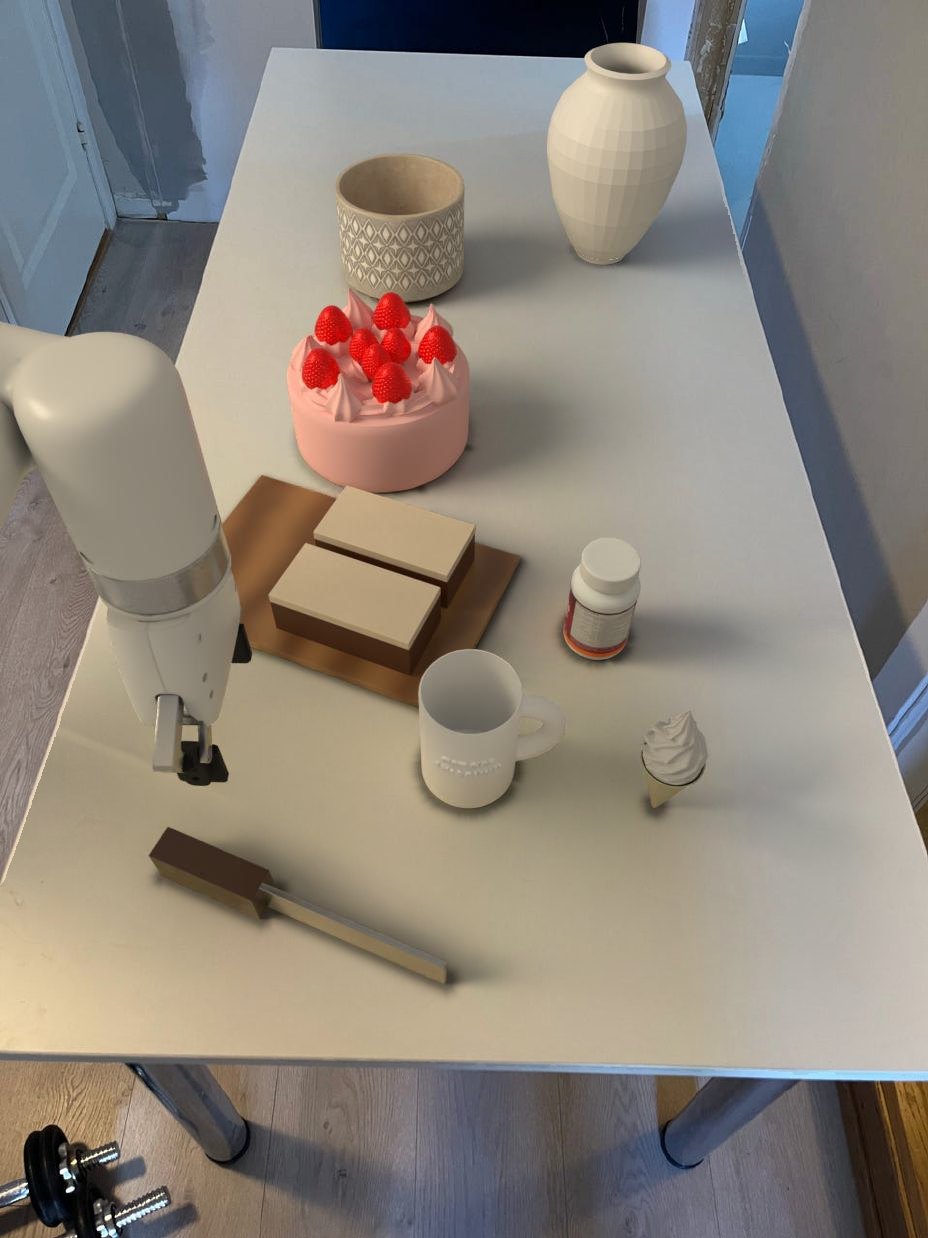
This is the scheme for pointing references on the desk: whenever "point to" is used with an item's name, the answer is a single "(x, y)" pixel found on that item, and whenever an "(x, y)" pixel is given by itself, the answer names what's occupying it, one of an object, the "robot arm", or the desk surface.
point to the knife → (272, 898)
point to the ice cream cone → (673, 757)
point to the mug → (478, 727)
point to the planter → (401, 225)
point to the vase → (615, 149)
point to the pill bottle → (602, 599)
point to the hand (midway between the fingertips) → (218, 716)
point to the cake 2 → (399, 539)
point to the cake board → (286, 520)
